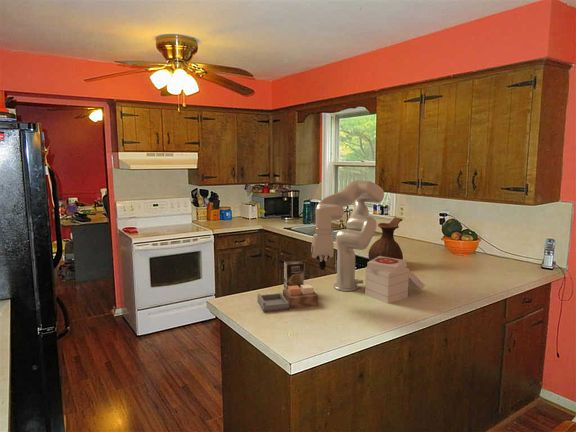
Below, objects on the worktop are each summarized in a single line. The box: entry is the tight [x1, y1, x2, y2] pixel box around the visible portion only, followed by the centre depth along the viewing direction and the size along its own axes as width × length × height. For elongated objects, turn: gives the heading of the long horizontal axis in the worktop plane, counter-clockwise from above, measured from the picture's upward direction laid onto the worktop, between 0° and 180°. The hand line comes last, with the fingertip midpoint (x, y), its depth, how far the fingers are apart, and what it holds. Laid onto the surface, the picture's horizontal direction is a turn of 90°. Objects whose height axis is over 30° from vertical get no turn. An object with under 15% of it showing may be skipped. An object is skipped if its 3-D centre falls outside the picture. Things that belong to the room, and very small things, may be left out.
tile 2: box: [300, 283, 315, 294], centre depth 198 cm, size 5×5×3 cm
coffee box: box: [283, 260, 305, 290], centre depth 211 cm, size 9×6×16 cm
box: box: [257, 292, 290, 313], centre depth 194 cm, size 12×14×4 cm
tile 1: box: [288, 285, 301, 295], centre depth 197 cm, size 5×5×3 cm
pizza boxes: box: [364, 256, 425, 304], centre depth 209 cm, size 19×30×18 cm, turn 125°
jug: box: [368, 216, 404, 261], centre depth 258 cm, size 22×22×30 cm
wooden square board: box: [282, 289, 319, 309], centre depth 198 cm, size 14×12×5 cm
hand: (322, 268), depth 198 cm, fingers closed
